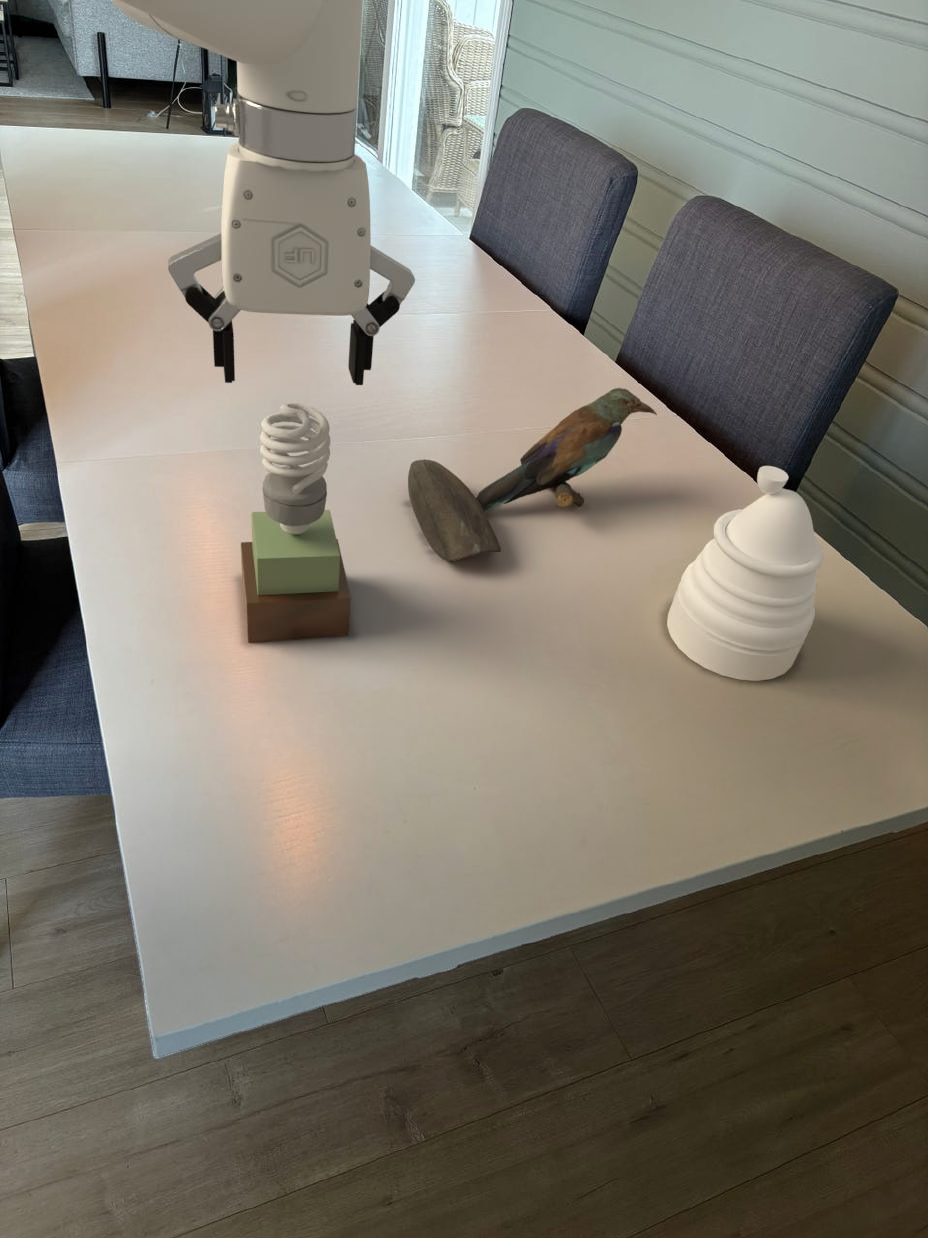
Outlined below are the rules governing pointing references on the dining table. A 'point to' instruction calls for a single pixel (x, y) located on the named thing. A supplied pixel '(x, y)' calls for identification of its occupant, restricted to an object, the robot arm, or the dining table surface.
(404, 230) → the dining table surface
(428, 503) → the decorative stone
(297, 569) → the top block
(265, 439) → the light bulb
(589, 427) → the bird figurine
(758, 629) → the honey pot
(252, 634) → the base block
